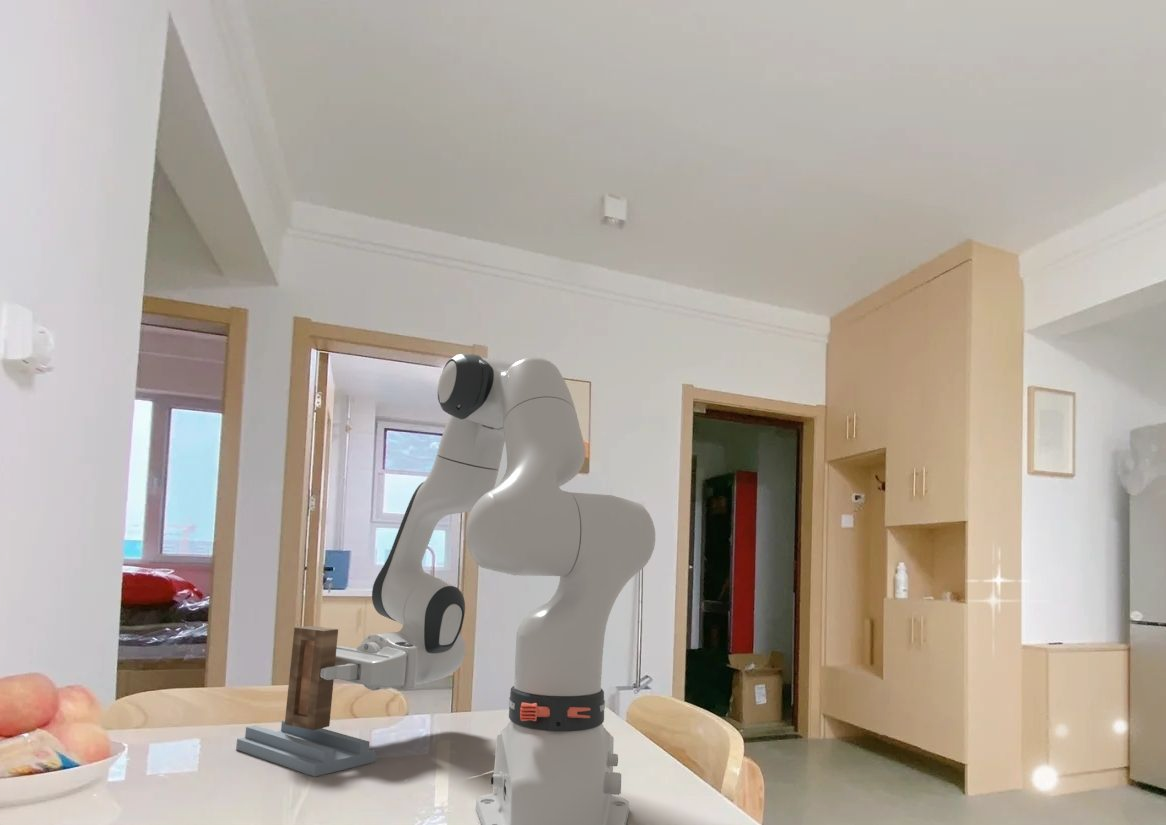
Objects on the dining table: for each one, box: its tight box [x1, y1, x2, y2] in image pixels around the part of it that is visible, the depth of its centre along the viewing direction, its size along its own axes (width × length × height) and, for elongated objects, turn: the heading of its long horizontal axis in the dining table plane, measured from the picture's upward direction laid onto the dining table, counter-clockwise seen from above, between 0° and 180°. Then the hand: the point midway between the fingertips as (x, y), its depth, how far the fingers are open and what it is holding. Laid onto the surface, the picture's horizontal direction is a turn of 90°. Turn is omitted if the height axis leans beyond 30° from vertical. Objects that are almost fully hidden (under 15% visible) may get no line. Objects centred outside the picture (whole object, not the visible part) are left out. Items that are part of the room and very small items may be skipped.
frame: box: [284, 625, 339, 730], centre depth 113 cm, size 6×3×14 cm, turn 63°
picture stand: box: [235, 719, 376, 778], centre depth 111 cm, size 20×10×3 cm, turn 53°
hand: (307, 670), depth 113 cm, fingers closed on frame, 6 cm apart
